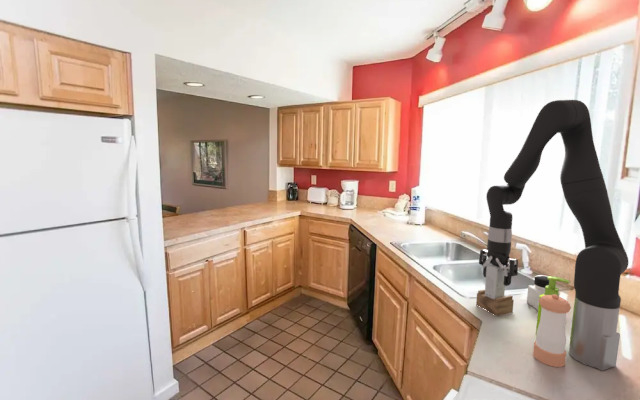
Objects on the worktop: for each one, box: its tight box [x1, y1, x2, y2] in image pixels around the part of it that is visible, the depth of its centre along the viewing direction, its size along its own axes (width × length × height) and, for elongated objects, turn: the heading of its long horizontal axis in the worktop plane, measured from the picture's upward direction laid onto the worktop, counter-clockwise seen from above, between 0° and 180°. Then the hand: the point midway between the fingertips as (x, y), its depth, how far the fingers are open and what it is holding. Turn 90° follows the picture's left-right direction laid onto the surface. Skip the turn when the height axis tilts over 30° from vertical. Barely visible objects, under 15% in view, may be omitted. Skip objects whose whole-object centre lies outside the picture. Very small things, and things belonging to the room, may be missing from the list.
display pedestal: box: [475, 289, 514, 317], centre depth 115 cm, size 9×8×6 cm
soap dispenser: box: [535, 275, 570, 335], centre depth 95 cm, size 6×7×20 cm
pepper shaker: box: [532, 294, 572, 368], centre depth 85 cm, size 7×7×19 cm
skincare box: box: [484, 264, 506, 300], centre depth 114 cm, size 6×4×12 cm
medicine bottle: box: [526, 274, 560, 311], centre depth 116 cm, size 7×7×12 cm
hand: (496, 281), depth 114 cm, fingers open, 8 cm apart
